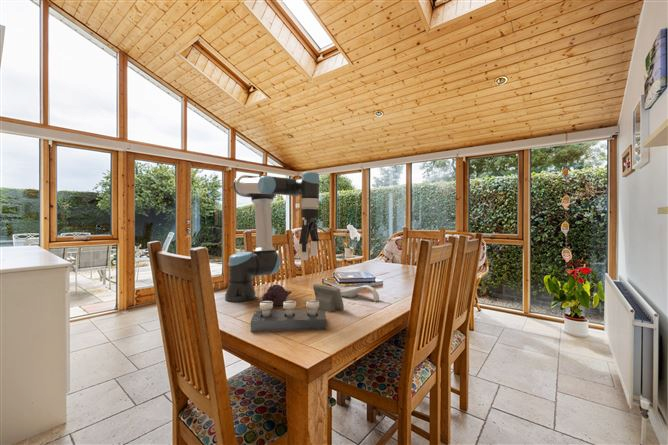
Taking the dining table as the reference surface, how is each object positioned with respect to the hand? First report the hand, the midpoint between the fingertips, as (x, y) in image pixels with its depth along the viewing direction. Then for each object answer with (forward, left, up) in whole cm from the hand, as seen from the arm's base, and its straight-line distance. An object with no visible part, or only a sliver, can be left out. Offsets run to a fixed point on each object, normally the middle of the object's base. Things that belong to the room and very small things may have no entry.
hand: (309, 257), depth 133 cm
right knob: (+9, -8, -21) cm, 25 cm away
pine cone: (-21, +2, -25) cm, 33 cm away
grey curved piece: (+3, +39, -25) cm, 46 cm away
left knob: (-5, -20, -21) cm, 30 cm away
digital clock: (+1, +14, -25) cm, 29 cm away
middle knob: (+2, -14, -21) cm, 26 cm away
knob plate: (+2, -14, -25) cm, 29 cm away
